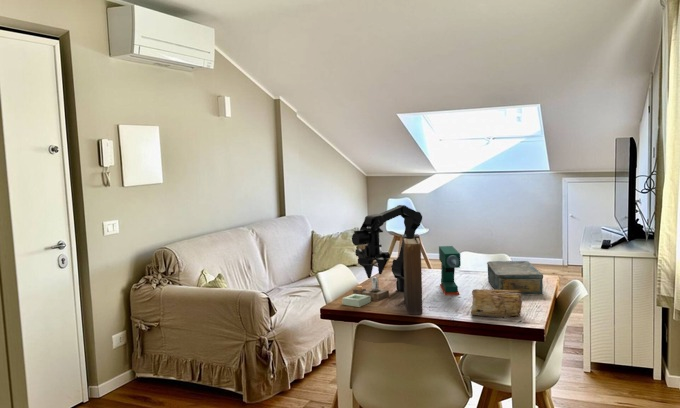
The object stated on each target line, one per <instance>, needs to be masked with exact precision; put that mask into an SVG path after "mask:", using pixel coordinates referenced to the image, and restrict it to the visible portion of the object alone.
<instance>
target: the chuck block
mask: <svg viewBox="0 0 680 408" xmlns="http://www.w3.org/2000/svg"><path fill="white" fill-rule="evenodd" d="M362 295H367V296H370V297H371V300H372V301H381V300H383V299H386V298H388V297H390V290H389V289H382V288H379V292H377V293H375V292H372V288H369V289H366V291H364V292H362Z"/></svg>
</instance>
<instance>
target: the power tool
mask: <svg viewBox="0 0 680 408" xmlns="http://www.w3.org/2000/svg"><path fill="white" fill-rule="evenodd" d="M438 257H439V261H440V264H441V269H440V270H441V273H440V274H441V276H440V283H439V287H440V289H441V290H442V292H443V295H444V296H459V295H460V292H459V290H458V289H459V287H458V285H457V283H456V282H455V272H456V270H455V269H459V268H461V264H462V263H461V253H460V252H459V251H458V250H456V248H455V247H454V246H453V245H443V246H438Z"/></svg>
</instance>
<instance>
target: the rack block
mask: <svg viewBox="0 0 680 408" xmlns="http://www.w3.org/2000/svg"><path fill="white" fill-rule="evenodd" d="M341 302H342V305H344V306H351V307H356V308H357V307H358V308H360V307H362V306H365V305H367V304H369V303H371V297H370V296H367V295H360V294H353V293H352V294H350V295H347V296H344V297H342V301H341Z"/></svg>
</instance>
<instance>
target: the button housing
mask: <svg viewBox="0 0 680 408" xmlns="http://www.w3.org/2000/svg"><path fill="white" fill-rule="evenodd" d="M362 288H363V289H362V290H356V288H353V289H352V294H360V295H362V292H364V291H366V290H367V288H364V287H362Z"/></svg>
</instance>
